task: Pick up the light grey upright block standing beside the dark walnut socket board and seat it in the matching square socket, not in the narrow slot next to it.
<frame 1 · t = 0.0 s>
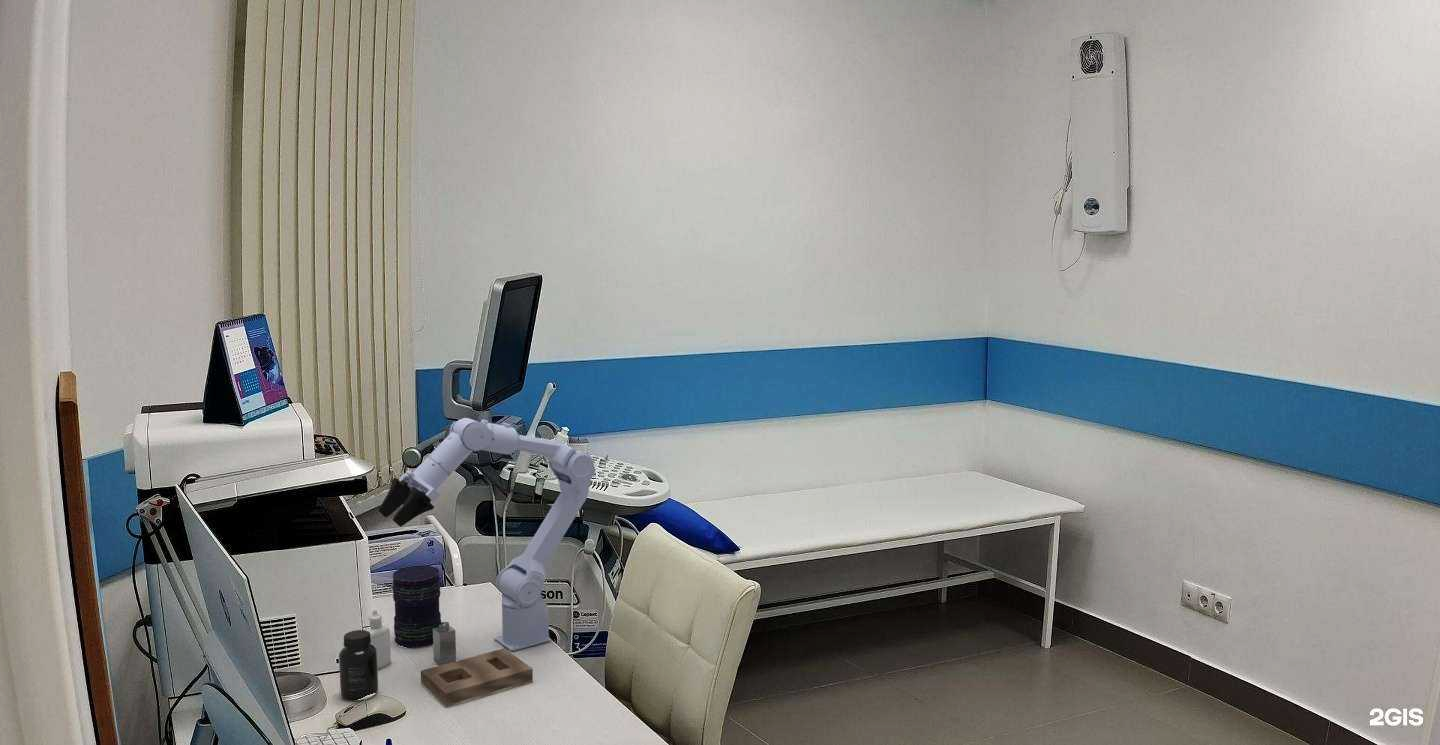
hand: (389, 518, 201), 32 cm above the table, tool tilted 50°, fingers open, 7 cm apart
supplement bottle: (359, 694, 198), on the table
socket board: (477, 683, 203), on the table
eye dropper bottle: (376, 667, 210), on the table
light grey upright block: (444, 661, 213), on the table
storage jar: (418, 640, 223), on the table
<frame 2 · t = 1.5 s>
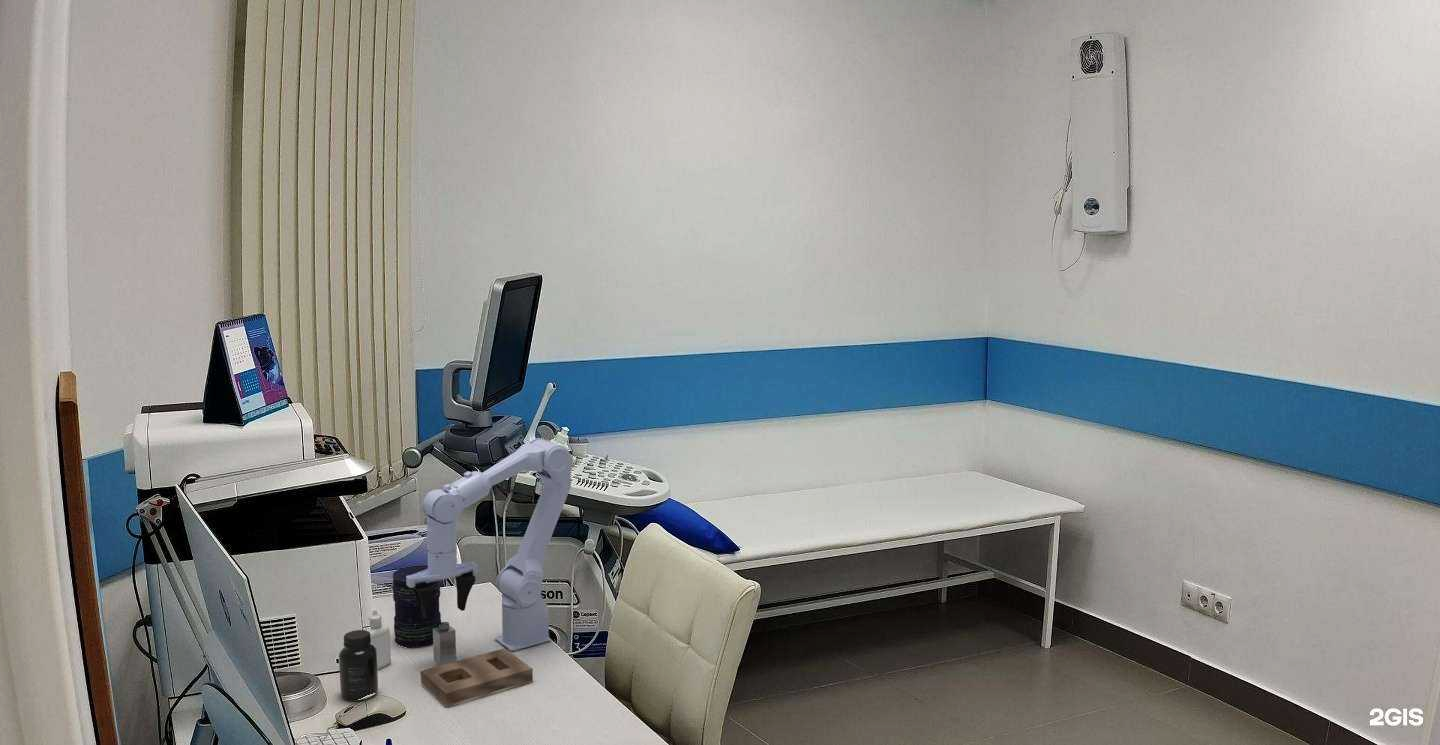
hand: (443, 613, 211), 10 cm above the table, tool pointing down, fingers open, 7 cm apart
nothing on the table moved.
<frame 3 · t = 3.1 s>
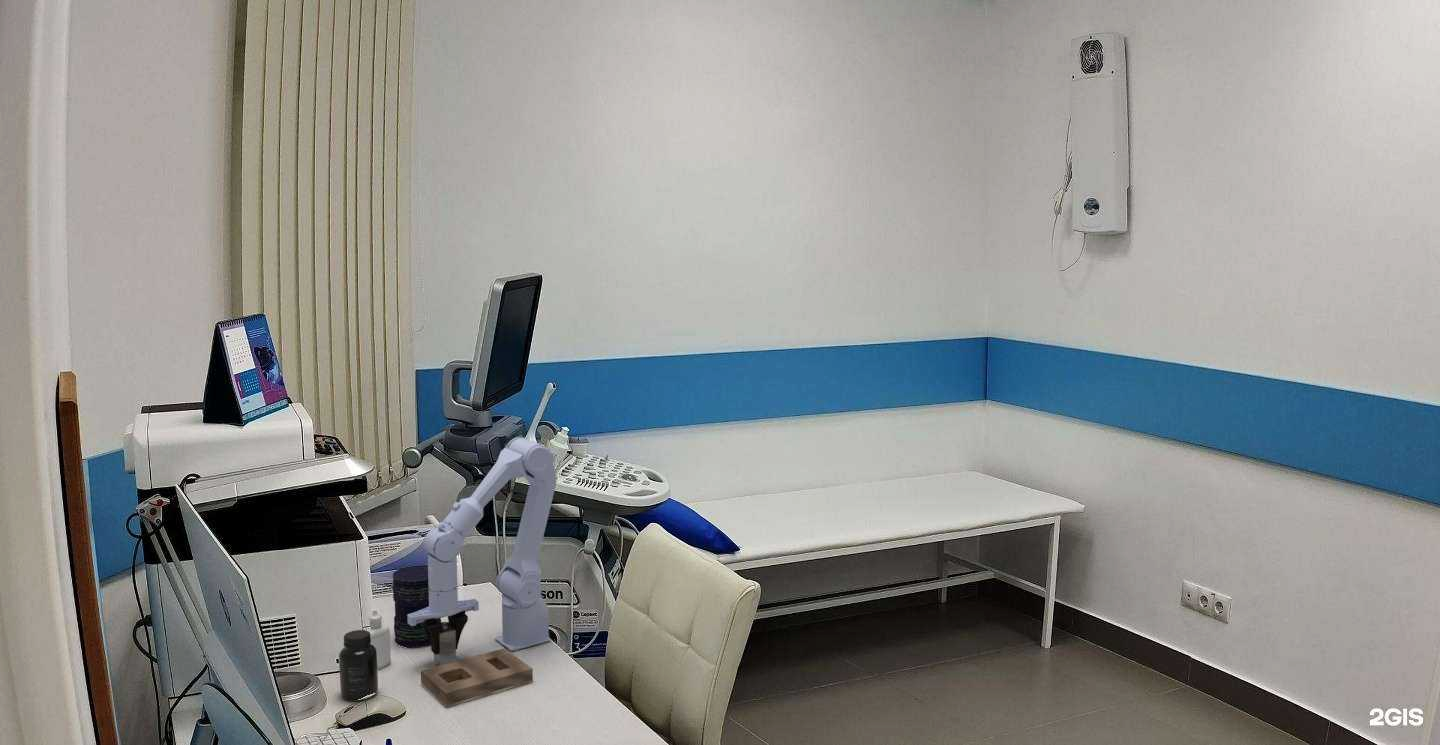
hand: (444, 650, 212), 2 cm above the table, tool pointing down, fingers closed on light grey upright block, 3 cm apart
light grey upright block: (444, 661, 213), on the table, touching gripper
everything else where it was.
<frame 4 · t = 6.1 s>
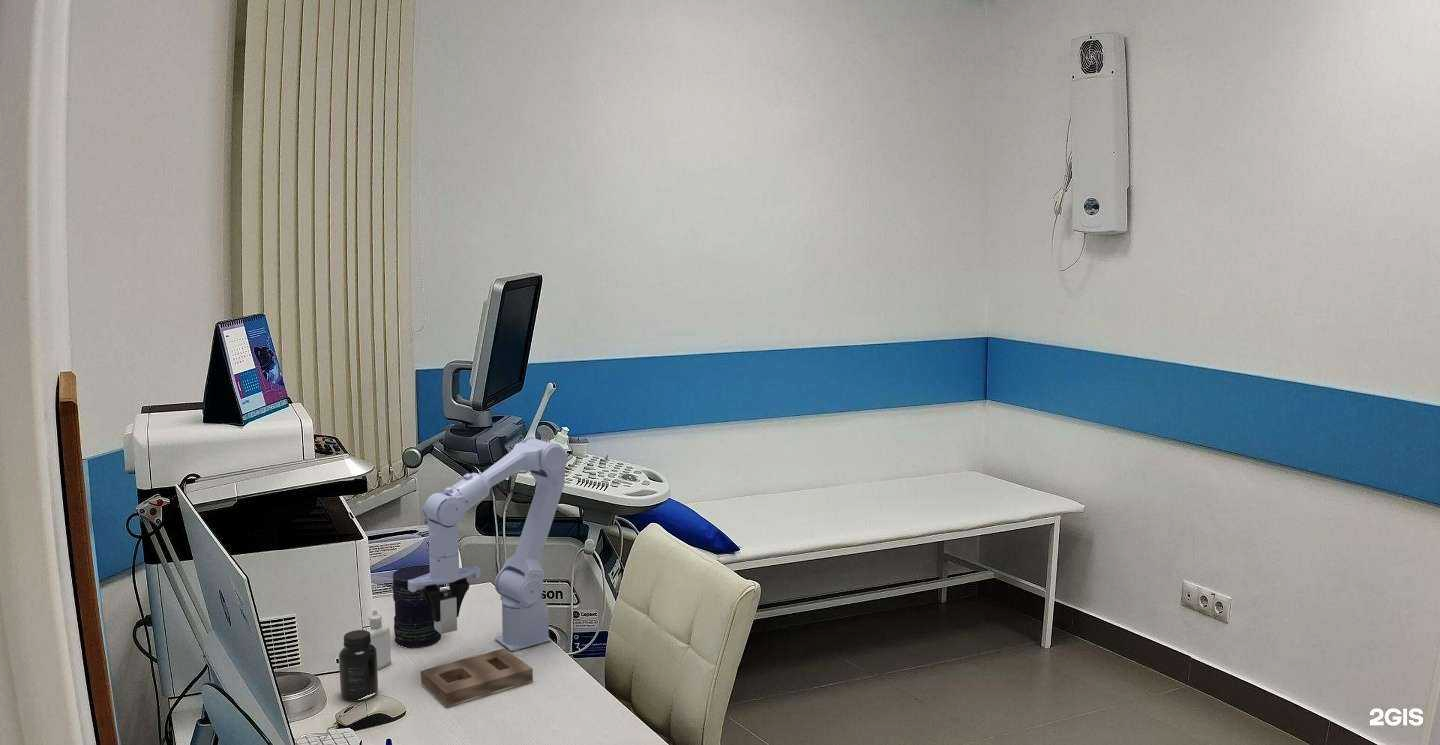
hand: (445, 618, 209), 10 cm above the table, tool pointing down, fingers closed on light grey upright block, 3 cm apart
light grey upright block: (445, 629, 209), point 8 cm above the table, touching gripper
everything else where it was.
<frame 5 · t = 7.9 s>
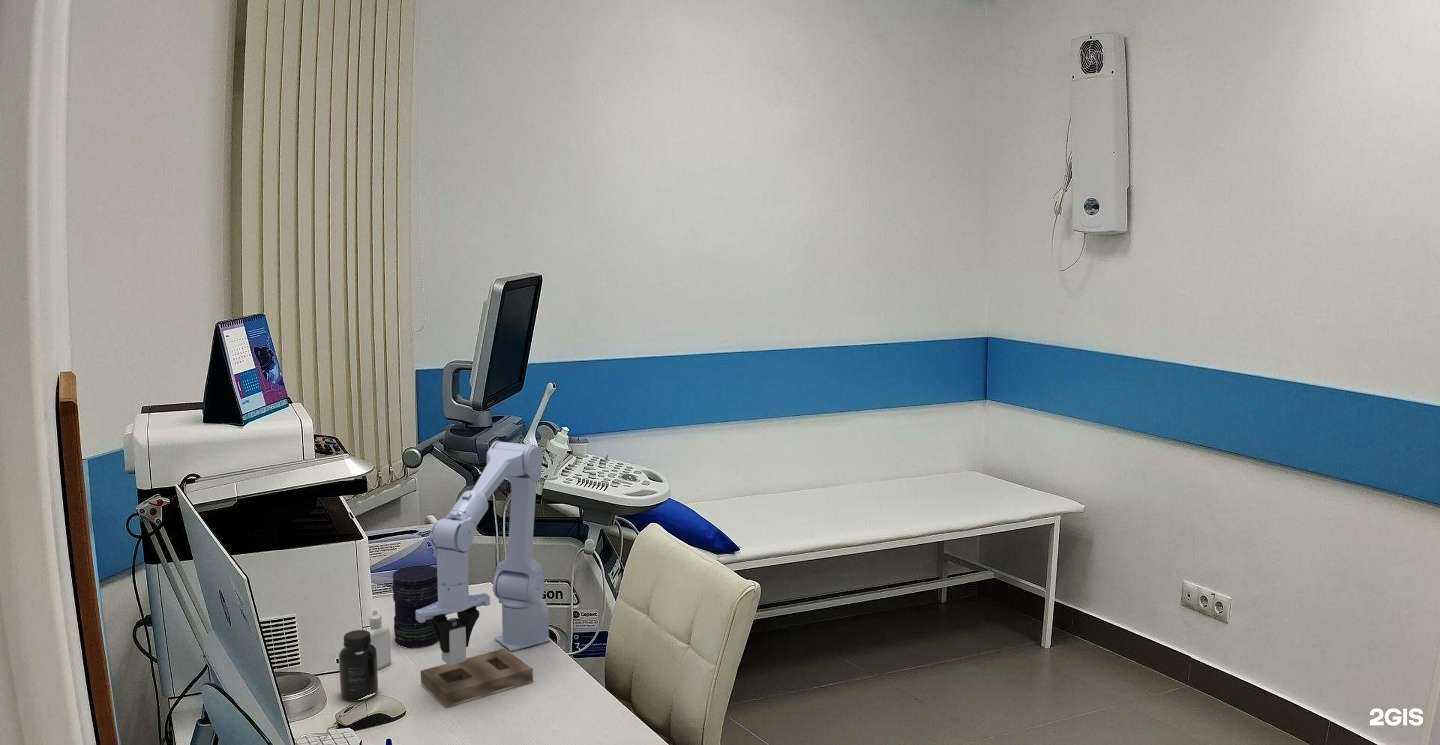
hand: (454, 648, 199), 8 cm above the table, tool pointing down, fingers closed on light grey upright block, 3 cm apart
light grey upright block: (454, 660, 200), point 6 cm above the table, touching gripper
everything else where it was.
when the fingers open (4 cm above the table, at t = 9.2 s): light grey upright block stays where it is, resting on socket board.
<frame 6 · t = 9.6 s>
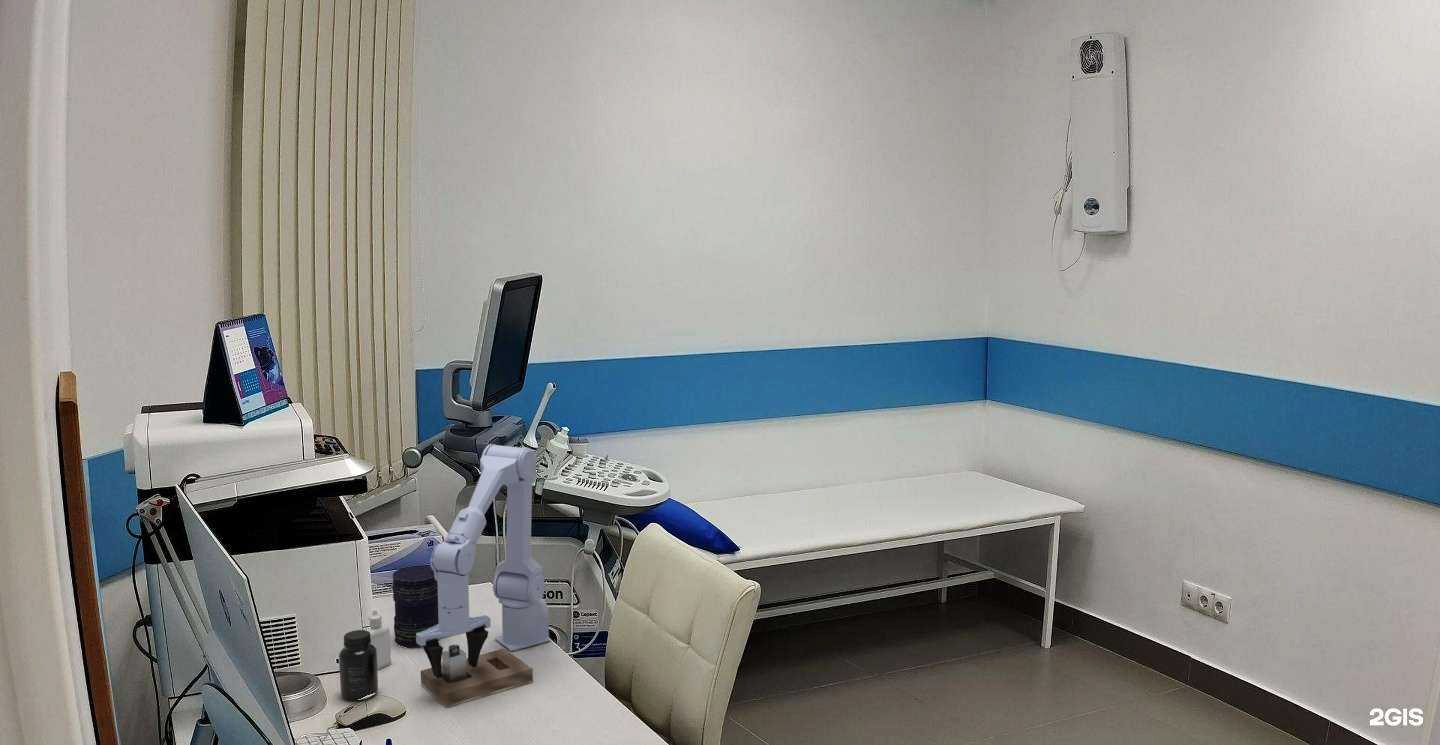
hand: (455, 670, 200), 4 cm above the table, tool pointing down, fingers open, 7 cm apart
light grey upright block: (455, 686, 201), resting on socket board
everything else where it was.
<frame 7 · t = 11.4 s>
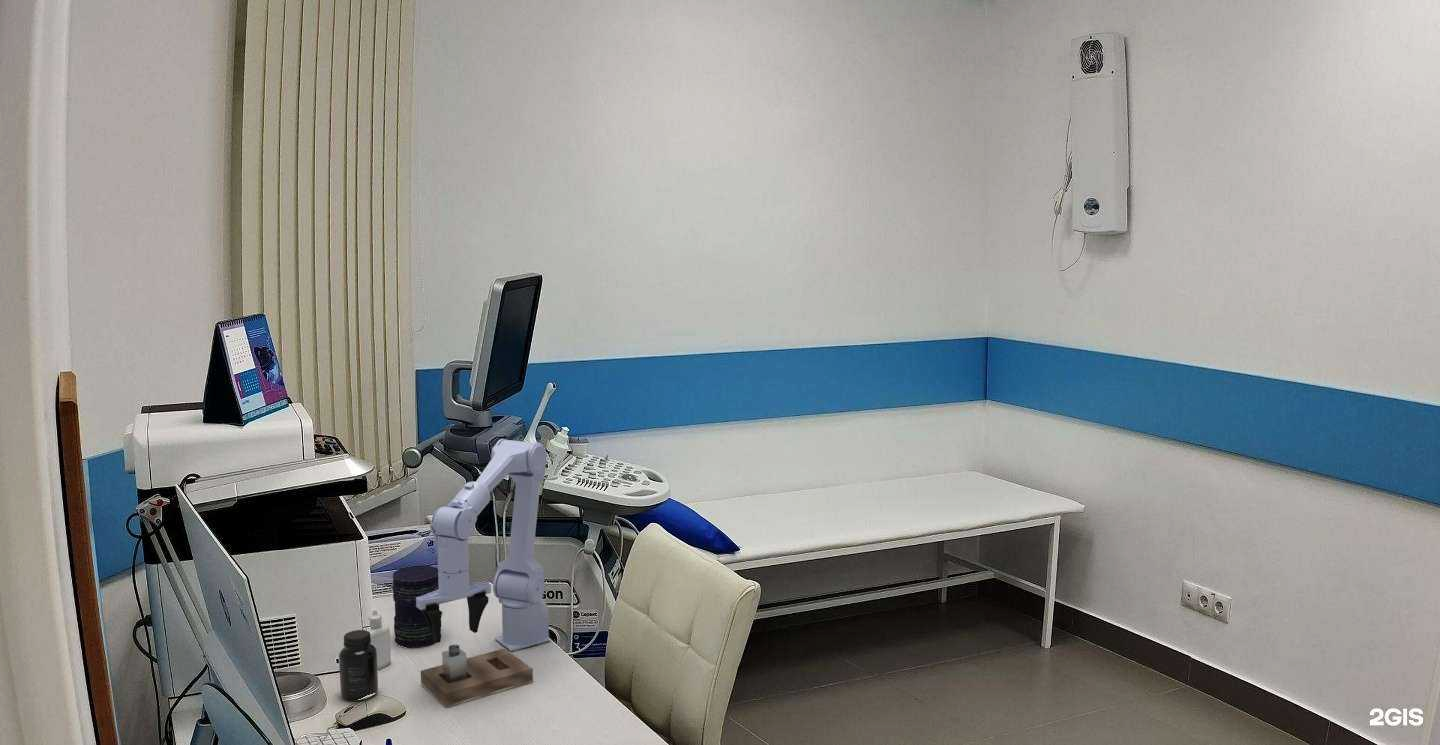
hand: (455, 635, 200), 10 cm above the table, tool pointing down, fingers open, 7 cm apart
nothing on the table moved.
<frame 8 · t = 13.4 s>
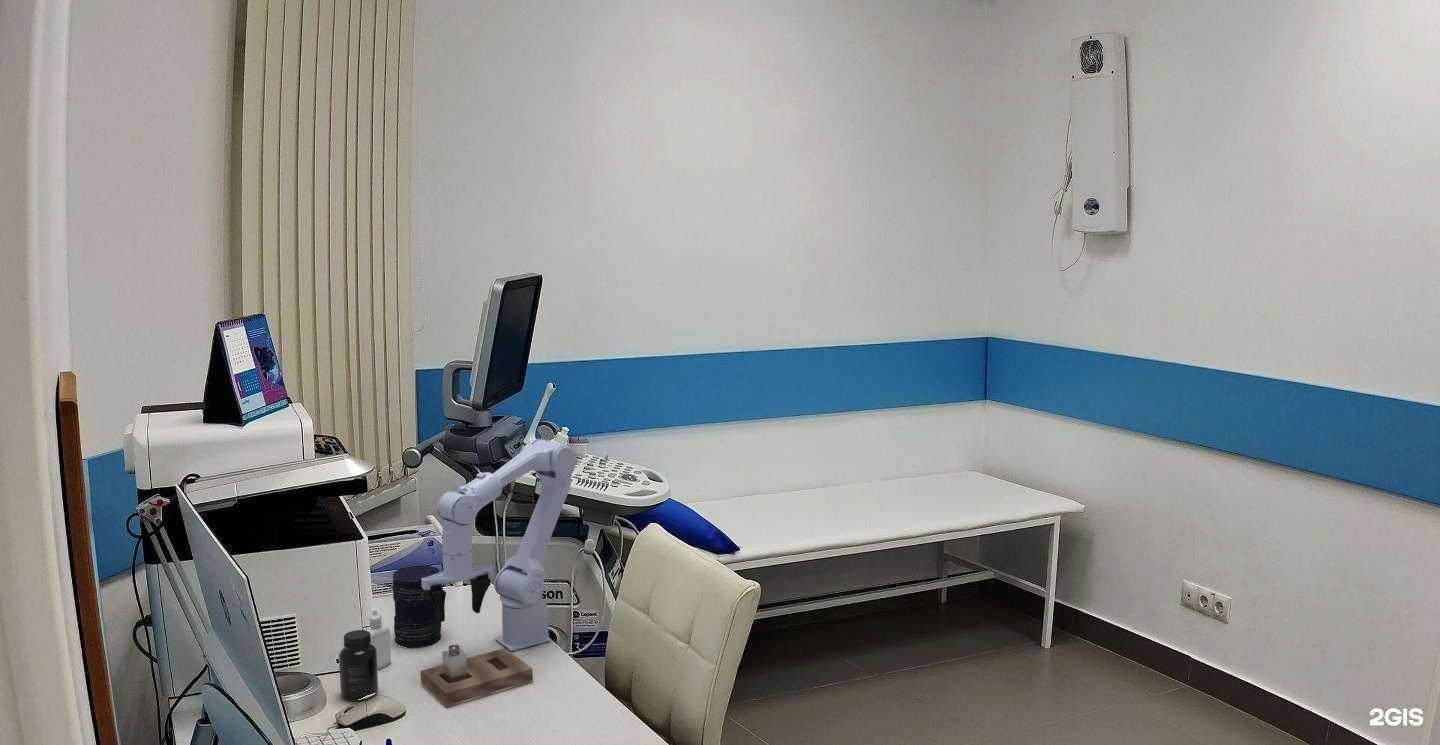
hand: (458, 615, 210), 10 cm above the table, tool pointing down, fingers open, 7 cm apart
nothing on the table moved.
at the end: light grey upright block 0.3 cm from the target spot on the socket board, point 0.4 cm above the socket board's base; light grey upright block tilted 0°; the gripper is holding nothing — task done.
